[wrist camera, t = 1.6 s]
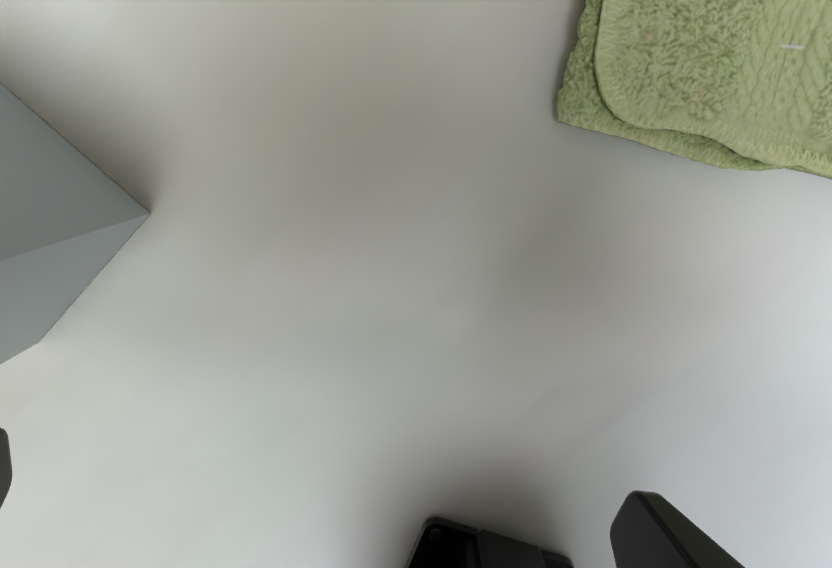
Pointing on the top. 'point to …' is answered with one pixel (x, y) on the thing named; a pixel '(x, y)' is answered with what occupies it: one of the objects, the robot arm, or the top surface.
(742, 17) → the washcloth
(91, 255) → the blue box
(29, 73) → the top surface
